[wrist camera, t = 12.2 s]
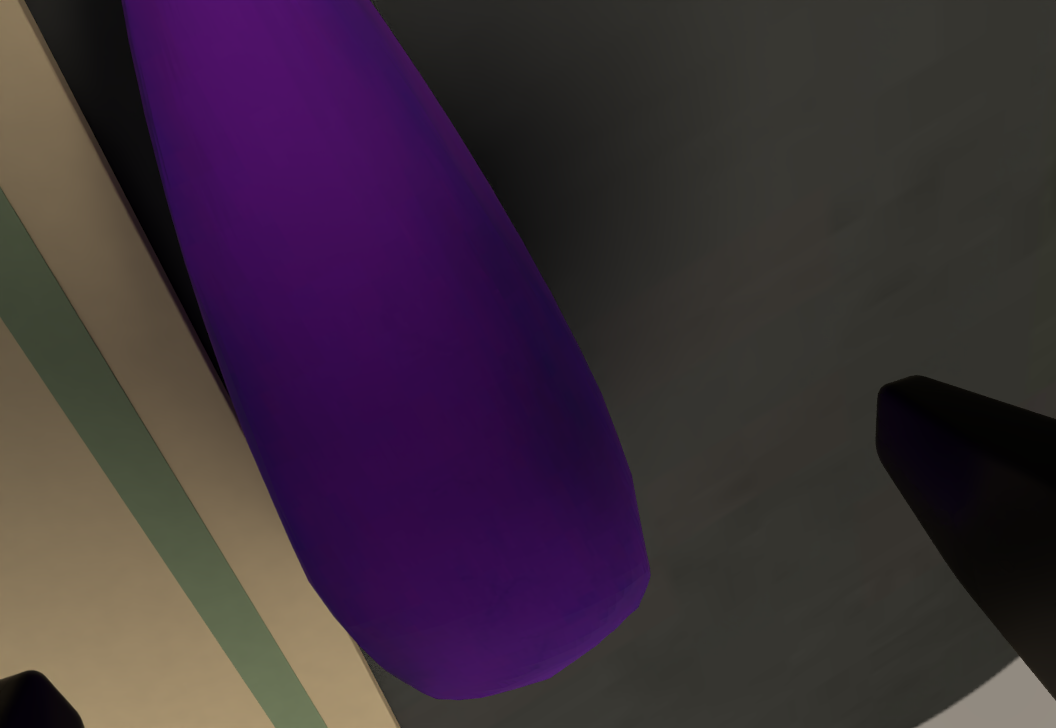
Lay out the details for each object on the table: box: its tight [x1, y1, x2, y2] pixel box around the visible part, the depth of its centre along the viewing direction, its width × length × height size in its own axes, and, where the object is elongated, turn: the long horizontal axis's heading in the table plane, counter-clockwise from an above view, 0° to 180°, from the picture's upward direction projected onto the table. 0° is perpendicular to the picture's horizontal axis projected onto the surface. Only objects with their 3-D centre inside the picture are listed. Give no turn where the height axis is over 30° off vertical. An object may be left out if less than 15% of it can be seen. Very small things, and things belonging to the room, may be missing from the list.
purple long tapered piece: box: [121, 0, 650, 700], centre depth 12 cm, size 5×5×15 cm
